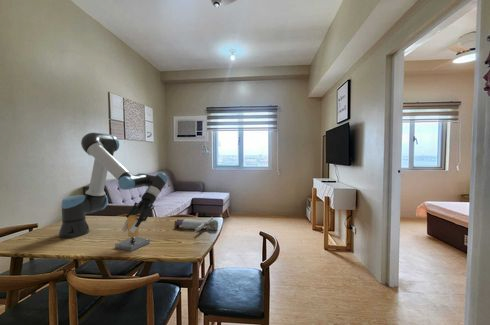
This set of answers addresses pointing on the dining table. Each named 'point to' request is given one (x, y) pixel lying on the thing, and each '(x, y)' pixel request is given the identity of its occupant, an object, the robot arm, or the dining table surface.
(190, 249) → the dining table surface
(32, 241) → the dining table surface
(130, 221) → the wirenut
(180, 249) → the dining table surface
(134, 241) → the grey base with peg
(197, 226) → the toy
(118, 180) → the robot arm
